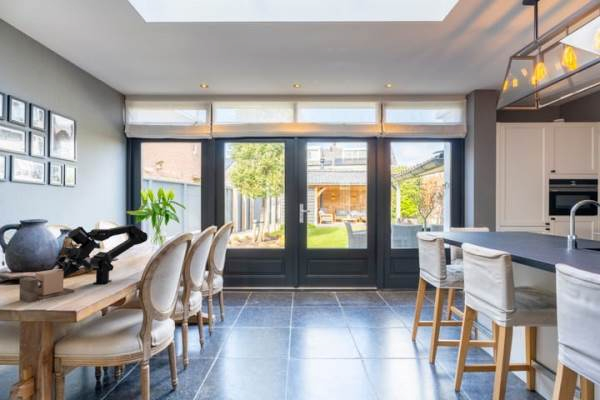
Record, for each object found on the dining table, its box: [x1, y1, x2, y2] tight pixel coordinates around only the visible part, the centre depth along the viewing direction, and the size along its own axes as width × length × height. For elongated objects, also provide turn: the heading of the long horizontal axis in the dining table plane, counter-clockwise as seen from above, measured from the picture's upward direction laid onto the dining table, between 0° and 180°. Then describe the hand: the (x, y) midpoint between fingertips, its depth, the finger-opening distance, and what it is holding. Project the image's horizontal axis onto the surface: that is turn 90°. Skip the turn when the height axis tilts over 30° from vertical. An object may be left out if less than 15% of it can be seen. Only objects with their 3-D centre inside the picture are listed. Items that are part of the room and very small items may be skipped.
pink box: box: [34, 269, 64, 295], centre depth 147 cm, size 8×6×9 cm
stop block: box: [19, 276, 75, 303], centre depth 147 cm, size 18×9×9 cm, turn 157°
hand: (59, 278), depth 151 cm, fingers closed
